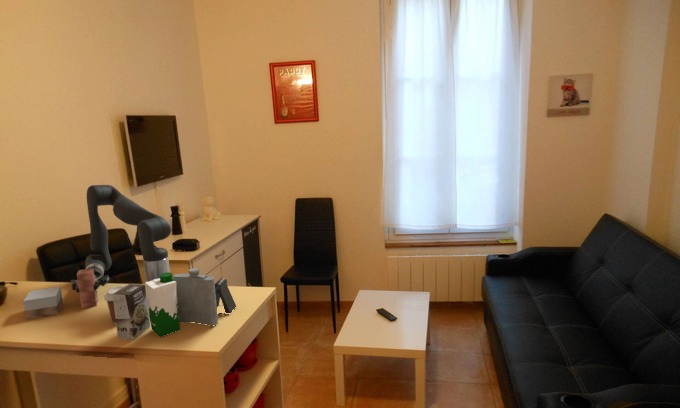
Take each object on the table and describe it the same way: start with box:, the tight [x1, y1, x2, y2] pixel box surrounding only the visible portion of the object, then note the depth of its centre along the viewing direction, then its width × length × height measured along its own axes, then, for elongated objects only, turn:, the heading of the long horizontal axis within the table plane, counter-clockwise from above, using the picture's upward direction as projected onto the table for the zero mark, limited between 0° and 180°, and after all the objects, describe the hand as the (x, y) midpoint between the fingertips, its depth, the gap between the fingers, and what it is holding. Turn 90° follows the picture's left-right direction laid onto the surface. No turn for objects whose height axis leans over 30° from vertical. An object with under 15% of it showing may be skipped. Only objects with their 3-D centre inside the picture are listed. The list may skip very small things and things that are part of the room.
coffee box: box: [113, 283, 151, 341], centre depth 147 cm, size 9×6×16 cm
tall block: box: [76, 268, 99, 309], centre depth 170 cm, size 5×5×14 cm
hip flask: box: [172, 267, 219, 327], centre depth 153 cm, size 16×4×20 cm, turn 73°
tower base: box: [24, 296, 64, 321], centre depth 166 cm, size 10×10×4 cm
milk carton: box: [144, 272, 181, 338], centre depth 148 cm, size 9×9×20 cm
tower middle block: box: [23, 286, 63, 312], centre depth 165 cm, size 10×10×4 cm
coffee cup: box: [103, 285, 126, 325], centre depth 157 cm, size 9×9×12 cm
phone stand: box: [215, 277, 237, 314], centre depth 163 cm, size 9×6×12 cm, turn 82°
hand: (86, 289), depth 168 cm, fingers closed on tall block, 5 cm apart
